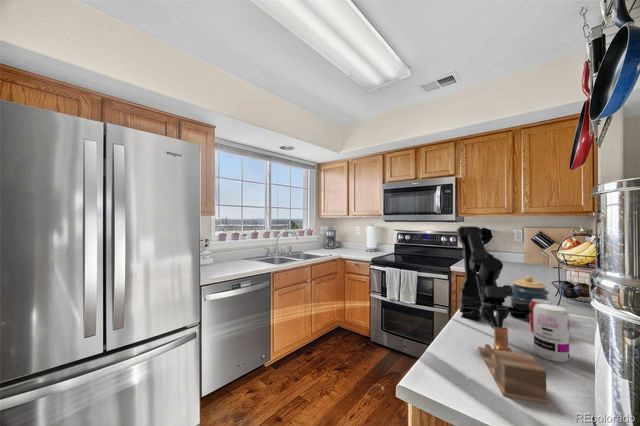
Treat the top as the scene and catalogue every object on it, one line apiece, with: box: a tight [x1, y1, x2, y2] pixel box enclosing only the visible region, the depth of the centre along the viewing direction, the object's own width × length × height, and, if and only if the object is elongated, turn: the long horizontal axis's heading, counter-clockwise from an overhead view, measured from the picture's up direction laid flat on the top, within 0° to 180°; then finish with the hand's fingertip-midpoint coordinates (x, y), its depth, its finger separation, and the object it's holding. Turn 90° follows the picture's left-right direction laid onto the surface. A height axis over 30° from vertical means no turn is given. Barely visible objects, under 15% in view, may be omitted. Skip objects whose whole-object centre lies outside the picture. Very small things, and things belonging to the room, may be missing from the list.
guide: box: [477, 344, 550, 405], centre depth 71 cm, size 23×9×7 cm, turn 161°
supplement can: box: [533, 303, 570, 363], centre depth 80 cm, size 8×8×15 cm
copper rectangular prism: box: [493, 326, 509, 351], centre depth 70 cm, size 13×3×9 cm, turn 161°
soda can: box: [529, 299, 553, 333], centre depth 95 cm, size 7×7×12 cm
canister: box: [510, 275, 550, 322], centre depth 111 cm, size 13×13×18 cm
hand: (499, 334), depth 77 cm, fingers closed, pressing on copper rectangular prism
